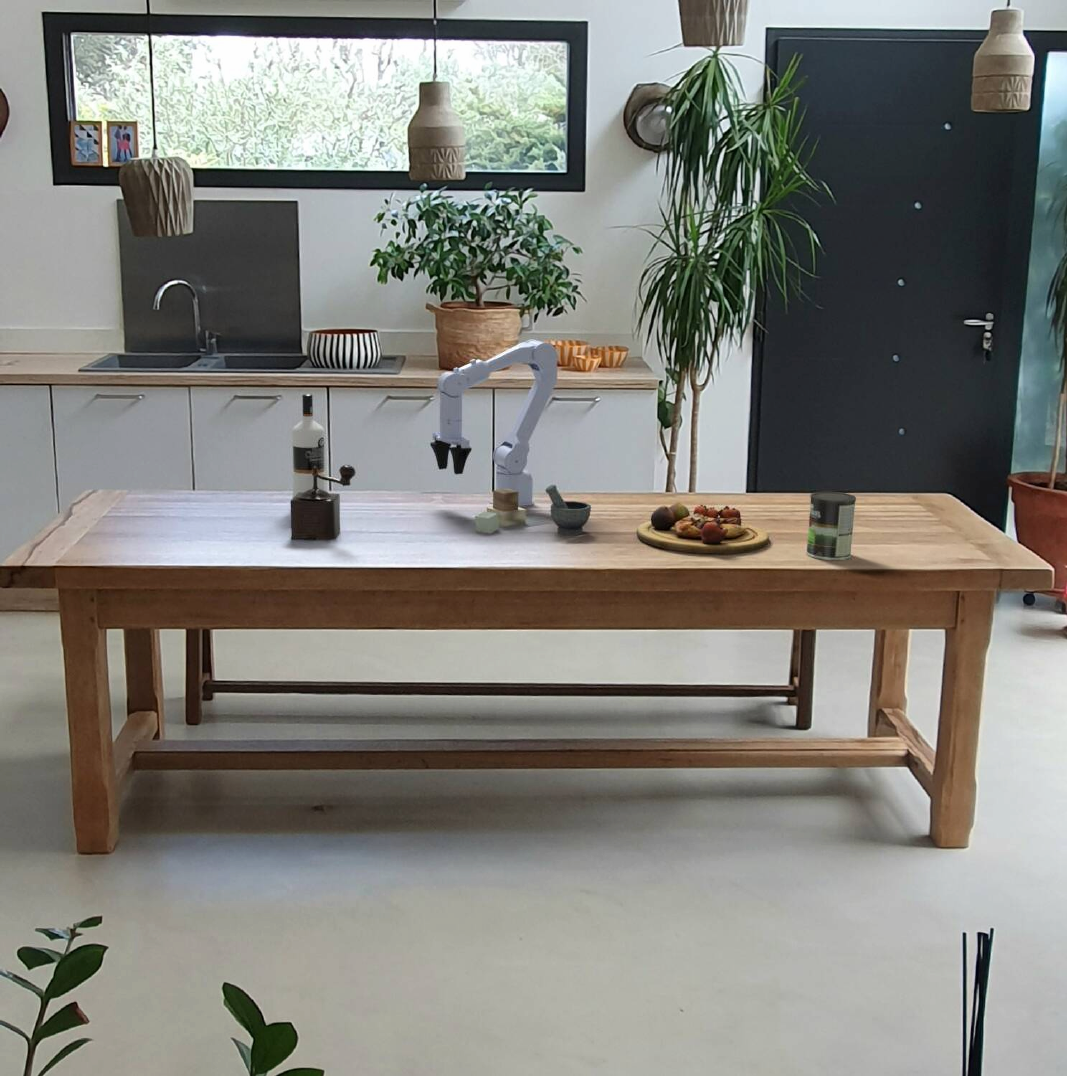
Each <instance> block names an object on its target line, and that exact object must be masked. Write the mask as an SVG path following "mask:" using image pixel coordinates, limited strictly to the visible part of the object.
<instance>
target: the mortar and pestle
mask: <svg viewBox="0 0 1067 1076" xmlns="http://www.w3.org/2000/svg"><path fill="white" fill-rule="evenodd" d="M545 493H547V494H548V497H549V499H550V500H551V504H550V517H551V518H552V521H553V523H554V524H555V525H556V526H557V533H559V534H561V535H567V536H572V535H573V536H575V535H582V533H583V532H584V531H583V530H584V529H583V527H584V526H585V525H587V522H588V520H589V519H590V516H591V511H592V510H591V509H592V505H590V504H589V503H587V502H583V501H576V500H575V501H574V500H572V501H571V500H568V501H567V500H566V501H564V499H563V497H562V496H561V494H560V492H559V491H558V489H557V486H556V484H550V485H549V486H547V487H546V489H545Z"/></svg>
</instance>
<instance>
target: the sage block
mask: <svg viewBox="0 0 1067 1076" xmlns="http://www.w3.org/2000/svg"><path fill="white" fill-rule="evenodd" d="M474 519H475V523H476V526H475V531H476V532H479V533H485V534H492V533H495V532H494V531H496V530H498V529H499V522H498V513H490V512H487V511H484V512H481V513H479V514H476V515H474Z"/></svg>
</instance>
